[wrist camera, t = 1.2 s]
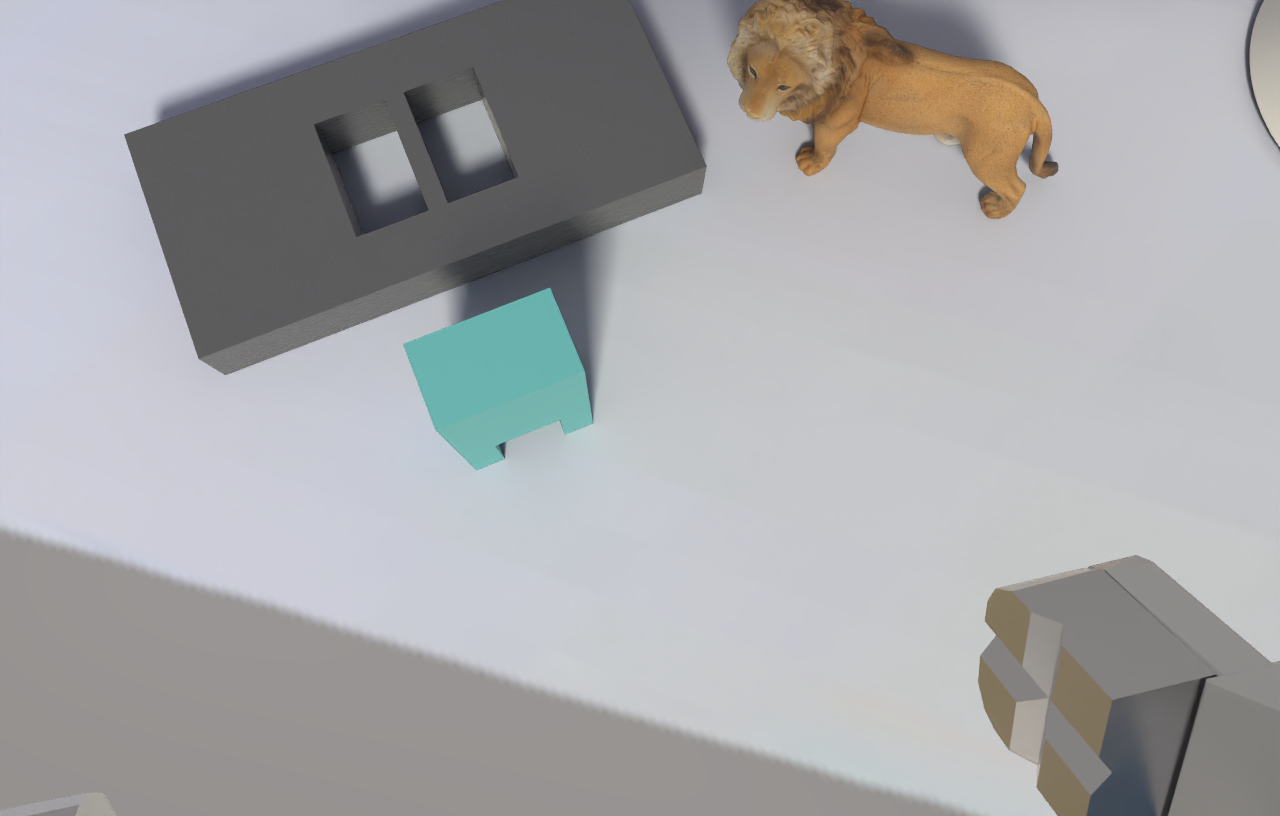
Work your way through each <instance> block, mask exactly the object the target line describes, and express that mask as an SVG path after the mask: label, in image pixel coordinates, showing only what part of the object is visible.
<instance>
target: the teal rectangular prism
mask: <svg viewBox="0 0 1280 816" xmlns="http://www.w3.org/2000/svg"><path fill="white" fill-rule="evenodd" d="M403 345H404V348H405V350H406V353H407V356H408V358H409V361H410V364H411V366H412V369H413V372H414V374H415V377H416V380H417V382H418V385H419V387H420V390H421V393H422V395H423V398H424V401H425V403H426V406H427V409H428V411H429V414H430V417H431V419H432V422H433V425H434V427H435V430H436V431H437V432H438V433H439V434H440V435H441V436H442V437H443V438H444V439H445V440H446V441H447V442H448V443H449V444H450V445H451V446H452V447H453V448H454V449H455V450H456V451H457V452H458V453H459V454H460V455H461V456H462V457H464V458H465V459H466V460H467V461H468V462H469V463H470V464H471V465H472V466H473V467H474V468H475V469H476V470H478V469H481V468H483V467H486V466H488V465H491V464H493V463H496V462H498V461H501V460H503V459H505V458H504V456H503V453H502V451H501V448H500V446H499V444H501V443H503V442H506V441H508V440H511V439H513V438H516V437H518V436H521V435H523V434H526V433H528V432H531V431H533V430H536V429H538V428H541V427H543V426H546V425H548V424H551V423H553V422H556V421H558V420H560V423H561V425H562V427H563V430H564V432H565V434H568V433H570V432H573V431H575V430H578V429H580V428H583V427H585V426H588V425H590V424H593V420H592V414H591V407H590V401H589V395H588V389H587V382H586V376H585V371H584V368H583V366H582V363H581V361H580V359H579V356H578V354H577V351H576V349H575V346H574V344H573V342H572V339H571V337H570V334H569V332H568V330H567V327H566V325H565V322H564V320H563V318H562V315H561V313H560V310H559V308H558V306H557V303H556V301H555V298H554V296H553V294H552V291H551V289H550V288H547V289H545V290H542V291H540V292H537V293H534V294H532V295H529V296H527V297H524V298H521V299H519V300H516V301H514V302H511V303H508V304H506V305H503V306H501V307H498V308H496V309H493V310H490V311H488V312H485V313H483V314H480V315H477V316H475V317H472V318H470V319H467V320H464V321H462V322H459V323H457V324H454V325H451V326H449V327H446V328H444V329H441V330H439V331H436V332H433V333H431V334H428V335H426V336H423V337H420V338H418V339H415V340H413V341H410V342H407V343H405V344H403Z"/></svg>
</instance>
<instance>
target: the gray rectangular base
mask: <svg viewBox="0 0 1280 816" xmlns="http://www.w3.org/2000/svg"><path fill="white" fill-rule="evenodd" d="M481 99H482V101H483V103H484V106H485V108H486V110H487V113H488V115H489V118H490V120H491V122H492V125H493V127H494V130H495V132H496V134H497V137H498V139H499V141H500V144H501V146H502V149H503V151H504V153H505V156H506V158H507V161H508V163H509V165H510V168H511V170H512V173H513V175H514V177H515V178H514V179H511V180H509V181H506V182H503V183H501V184H498V185H495V186H493V187H490V188H487V189H485V190H482V191H479V192H477V193H474V194H471V195H468V196H466V197H463V198H460V199H458V200H455V201H452V202H450V203H448V201H447V198H446V196H445V193H444V191H443V188H442V186H441V183H440V181H439V178H438V176H437V173H436V171H435V168H434V166H433V163H432V161H431V158H430V156H429V153H428V151H427V148H426V146H425V143H424V141H423V138H422V136H421V133H420V131H419V128H418V126H417V123H418V122H421V121H424V120H426V119H429V118H432V117H435V116H437V115H440V114H443V113H446V112H448V111H451V110H454V109H457V108H459V107H462V106H465V105H468V104H470V103H473V102H476V101H479V100H481ZM396 130H397V132H398V134H399V137H400V139H401V142H402V144H403V147H404V149H405V152H406V154H407V157H408V159H409V162H410V164H411V167H412V169H413V172H414V175H415V177H416V180H417V182H418V185H419V187H420V190H421V192H422V195H423V197H424V200H425V202H426V205H427V207H428V211H426V212H423V213H420V214H418V215H415V216H412V217H409V218H407V219H404V220H401V221H399V222H396V223H393V224H391V225H388V226H385V227H383V228H380V229H377V230H375V231H372V232H369V233H367V234H364V235H363V234H362V231H361V229H360V226H359V223H358V221H357V218H356V215H355V213H354V210H353V208H352V205H351V202H350V200H349V197H348V194H347V192H346V189H345V186H344V184H343V181H342V178H341V176H340V173H339V170H338V168H337V165H336V163H335V160H334V157H333V155H332V154H333V153H336V152H338V151H341V150H344V149H347V148H349V147H352V146H355V145H358V144H360V143H363V142H366V141H369V140H371V139H374V138H377V137H380V136H382V135H385V134H388V133H391V132H393V131H396ZM124 135H125V138H126V141H127V144H128V147H129V150H130V153H131V156H132V159H133V162H134V166H135V169H136V172H137V175H138V178H139V181H140V184H141V187H142V190H143V193H144V196H145V199H146V202H147V205H148V208H149V211H150V214H151V217H152V220H153V223H154V226H155V229H156V232H157V235H158V238H159V241H160V244H161V247H162V250H163V253H164V256H165V259H166V262H167V265H168V268H169V271H170V274H171V277H172V280H173V283H174V286H175V289H176V292H177V295H178V298H179V301H180V304H181V307H182V310H183V313H184V316H185V319H186V322H187V325H188V328H189V331H190V334H191V337H192V340H193V343H194V346H195V349H196V352H197V355H198V358H199V359H200V360H201V361H203V362H205V363H206V364H208V365H210V366H211V367H213V368H215V369H216V370H218V371H220V372H221V373H223V374H225V375H227V374H229V373H232V372H235V371H237V370H240V369H243V368H245V367H248V366H250V365H253V364H256V363H258V362H261V361H263V360H266V359H269V358H271V357H274V356H277V355H279V354H282V353H284V352H287V351H290V350H292V349H295V348H297V347H300V346H303V345H305V344H308V343H311V342H313V341H316V340H318V339H321V338H324V337H326V336H329V335H332V334H334V333H337V332H339V331H342V330H345V329H347V328H350V327H352V326H355V325H358V324H360V323H363V322H366V321H368V320H371V319H373V318H376V317H379V316H381V315H384V314H387V313H389V312H392V311H394V310H397V309H400V308H402V307H405V306H407V305H410V304H413V303H415V302H418V301H421V300H423V299H426V298H428V297H431V296H434V295H436V294H439V293H441V292H444V291H447V290H449V289H452V288H455V287H457V286H460V285H462V284H465V283H468V282H470V281H473V280H476V279H478V278H481V277H483V276H486V275H489V274H491V273H494V272H496V271H499V270H502V269H504V268H507V267H510V266H512V265H515V264H517V263H520V262H523V261H525V260H528V259H531V258H533V257H536V256H538V255H541V254H544V253H546V252H549V251H551V250H554V249H557V248H559V247H562V246H565V245H567V244H570V243H572V242H575V241H578V240H580V239H583V238H585V237H588V236H591V235H593V234H596V233H599V232H601V231H604V230H606V229H609V228H612V227H614V226H617V225H620V224H622V223H625V222H627V221H630V220H633V219H635V218H638V217H640V216H643V215H646V214H648V213H651V212H654V211H656V210H659V209H661V208H664V207H667V206H669V205H672V204H675V203H677V202H680V201H682V200H685V199H688V198H690V197H693V196H695V195H698V194H701V193H702V188H703V183H704V177H705V172H706V167H707V166H706V164H705V162H704V160H703V158H702V155H701V153H700V151H699V149H698V147H697V145H696V142H695V140H694V138H693V136H692V134H691V132H690V129H689V127H688V125H687V123H686V121H685V119H684V117H683V114H682V112H681V110H680V108H679V106H678V104H677V101H676V99H675V97H674V95H673V93H672V91H671V88H670V86H669V84H668V82H667V80H666V78H665V75H664V73H663V71H662V69H661V67H660V65H659V63H658V60H657V58H656V56H655V54H654V52H653V50H652V47H651V45H650V43H649V41H648V39H647V37H646V34H645V32H644V30H643V28H642V26H641V24H640V21H639V19H638V17H637V15H636V13H635V11H634V8H633V6H632V4H631V2H630V0H504V1H501V2H498V3H495V4H492V5H489V6H487V7H484V8H481V9H478V10H475V11H472V12H470V13H467V14H464V15H461V16H458V17H455V18H453V19H450V20H447V21H444V22H441V23H438V24H436V25H433V26H430V27H427V28H424V29H421V30H419V31H416V32H413V33H410V34H407V35H405V36H402V37H399V38H396V39H393V40H390V41H388V42H385V43H382V44H379V45H376V46H373V47H371V48H368V49H365V50H362V51H359V52H356V53H354V54H351V55H348V56H345V57H342V58H339V59H337V60H334V61H331V62H328V63H325V64H322V65H320V66H317V67H314V68H311V69H308V70H306V71H303V72H300V73H297V74H294V75H291V76H289V77H286V78H283V79H280V80H277V81H274V82H272V83H269V84H266V85H263V86H260V87H257V88H255V89H252V90H249V91H246V92H243V93H240V94H238V95H235V96H232V97H229V98H226V99H223V100H221V101H218V102H215V103H212V104H209V105H206V106H204V107H201V108H198V109H195V110H192V111H190V112H187V113H184V114H181V115H178V116H175V117H173V118H170V119H167V120H164V121H161V122H158V123H156V124H153V125H150V126H147V127H144V128H141V129H139V130H136V131H133V132H130V133H127V134H124Z"/></svg>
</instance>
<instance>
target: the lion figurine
mask: <svg viewBox="0 0 1280 816" xmlns="http://www.w3.org/2000/svg"><path fill="white" fill-rule="evenodd" d="M738 25H739V28H738V35H737V37H736V39H735V40H734V41H733V42H732V44H731V49H730V53H729V55H728V59H727V64H728V65H729V68H730V70H731V72H732V75H733V77H734V78H735V79H736V80H738V83H739V86H740V87H741V88H742V89H743V91H742V93H741V95H740V98H739V105H740V108H741V109H742V110H743V111H744V112H746V114H747V116H748V117H749V118H750V119H752V120H754V121H762V122H766V121H769V120H770V119H772V118H773V116H774V115H775V113H776V112H777V111H778V112H779V113H780V114H781V115H784V116H787V117H789V118H790V119H791V120H792V121H796V120H800V121H802V122H804V123H807V124H813V126H814V145H813V146H807V147H804V148H802V149H801V151H800V153H799V155H798V156H797V157H796V162H797V163H798V167H799V169H800V170H802V171H803V172H804V173H805V174H806V175H807V176H810V175H813V174H816V173H818V172H820V171H821V170H822V169H824V168H825V167H827V166H828V164H829V163H830V161H831V159H832V158H833V157H834V155H835V153H836V148H837V146H838V144H839V143H840V142H841V141H842V140H843V139H844V138H845V137H846V136H847V135H849V134H850V133H852V132H853V131H854V130H855V129H856V128H857V127H858V124H859V122H863V123H866V124H869V125H872V126H875V127H878V128H881V129H884V130H888V131H894V132H899V133H906V134H913V135H934V137H935V138H936V139H937V140H938V141H939V142H941V143H944V144H947V145H956V144H960V145H961V148H962V151H963V154H964V157H965V159H966V161H967V163H968V165H969V167H970V169H971V171H972V172H973V174H974V175H975V176H976V177H977V178H978V179H979V180H980V181H981V182H982V183H983V184H985V185H986V186H988V187H989V188H990V189H992V190H993V191H990V192H988V193H987V194H986V195H985V196H984V197H983V198H981V200H980V204H981V206H982V211H983V212H984V214H985V215H986V216H987V217H989V218H993V219H999V218H1003V217H1005V216H1007V215H1008V214H1009V213H1011V212H1012V211H1013V210H1014V209H1015V207H1016V206H1017V204H1018V202H1019V200H1020V199H1021V197H1022V196H1023V194H1024V192H1025V189H1026V184H1025V183H1024V182H1023V181H1022V180H1021V179H1020V178H1019V177H1018V175H1017V171H1016V163H1017V160H1018V158H1019V156H1020V154H1021V152H1022V150H1023V149H1024V147H1025V145H1026V143H1027V141H1028V139H1029V136H1030V135H1031V134H1034V135H1033V144H1032V152H1031V156H1030V161H1029V169H1030V171H1031V172H1032V173H1033V174H1034V175H1037V176H1039V177H1041V178H1044V179H1045V178H1047V177H1048V176H1053V175H1055V174H1056V173H1057V172H1058V163H1057V162H1046V161H1045V159H1046V156H1047V154H1048V152H1049V148H1050V145H1051V141H1052V125H1051V120H1050V117H1049V114H1048V112H1047V110H1046V108H1045V107H1044V105H1043V104H1042V103H1041V102H1040V100H1039V99H1038V93H1037V90H1036V88H1035V87H1034V85H1033V84H1032V83H1031V82H1030V81H1029V80H1028V79H1027V78H1026V77H1025V76H1024V75H1022V74H1021V73H1019V72H1018V71H1016V70H1015V69H1013V68H1012V67H1010V66H1008V65H1006V64H1004V63H1001V62H998V61H990V60H978V59H968V58H961V57H957V56H952V55H948V54H944V53H940V52H937V51H934V50H930V49H927V48H924V47H921V46H918V45H914V44H910V43H906V42H902V41H899V40H896V39H893V37H892V36H891V35H890V33H889V32H888V31H887V30H886V29H885V28H883V27H881V26H877V24H876V22H875V20H874V19H873V18H872V17H866V14H865V12H864V10H862V9H859V8H853V7H852V6H851V3H850V2H849V1H843V0H760V1H758V2H756V3H755V4H754V5H753V6H752V7H751V8H750V9H749V10H748V11H747V13H746V15H745V16H744V17H743V18H741V20H740V21H739V22H738Z"/></svg>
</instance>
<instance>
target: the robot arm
mask: <svg viewBox="0 0 1280 816" xmlns="http://www.w3.org/2000/svg"><path fill="white" fill-rule="evenodd" d="M1250 73H1251V80H1252V85H1253V90H1254V94H1255V97H1256V101H1257V104H1258V107H1259V109H1260V112H1261V114H1262V117H1263V119H1264V121H1265V123H1266V125H1267V127H1268V129H1269V131H1270V133H1271V134H1272V136H1273V138H1274V139H1275V141H1276V142H1277V144H1278V146H1279V147H1280V0H1264V1H1263V3H1262V5H1261V7H1260V10H1259V12H1258V15H1257V17H1256V20H1255V24H1254V27H1253V31H1252V36H1251V43H1250ZM985 622H986V623H987V624H988V626H989V627H990V628H991V629H992V630H993V632H994V633H995V634H996V636H995V638H994V639H993V640H992V642H991V643H990V644H989V645H988V647H987V648H986V649H985V650H984V652H983V653H982V654H981V656H980V665H979V678H978V683H979V688H980V692H981V696H982V700H983V705H984V709H985V711H986V713H987V715H988V717H989V719H990V721H991V723H992V725H993V728H994V730H995V731H996V732H997V734H998V735H999V737H1000V738H1001V740H1002V741H1003V742H1004V744H1005V745H1006V747H1007V748H1008V749H1009V751H1011V752H1013V753H1015V754H1017V755H1019V756H1021V757H1023V758H1025V759H1027V760H1029V761H1031V762H1033V763H1035V764H1037V789H1038V790H1039V791H1040V793H1041V794H1042V795H1043V797H1044V798H1045V799H1046V801H1047V802H1048V803H1049V805H1050V806H1051V807H1052V809H1053V810H1054V811H1055V813H1056V814H1057V815H1058V816H1280V661H1278V662H1274V663H1271V662H1270V661H1269V660H1268V659H1266V658H1265V657H1264V656H1263V655H1262V654H1261V653H1259V652H1258V651H1257V650H1256V649H1255V648H1254V647H1252V646H1251V645H1250V644H1249V643H1248V642H1246V641H1245V640H1244V639H1243V638H1242V637H1241V636H1239V635H1238V634H1237V633H1236V632H1235V631H1234V630H1232V629H1231V628H1230V627H1229V626H1228V625H1226V624H1225V623H1224V622H1223V621H1222V620H1221V619H1219V618H1218V617H1217V616H1216V615H1215V614H1214V613H1212V612H1211V611H1210V610H1209V609H1208V608H1206V607H1205V606H1204V605H1203V604H1202V603H1201V602H1199V601H1198V600H1197V599H1196V598H1195V597H1194V596H1192V595H1191V594H1190V593H1189V592H1188V591H1186V590H1185V589H1184V588H1183V587H1182V586H1181V585H1179V584H1178V583H1177V582H1176V581H1175V580H1174V579H1172V578H1171V577H1170V576H1169V575H1168V574H1166V573H1165V572H1164V571H1163V570H1162V569H1161V568H1159V567H1158V566H1157V565H1156V564H1155V563H1154V562H1152V561H1150V560H1148V559H1145V558H1142V557H1140V556H1137V555H1135V556H1131V557H1126V558H1122V559H1118V560H1114V561H1110V562H1105V563H1101V564H1097V565H1093V566H1090V567H1088V568H1081V569H1077V570H1073V571H1068V572H1064V573H1060V574H1056V575H1051V576H1047V577H1043V578H1038V579H1034V580H1030V581H1026V582H1021V583H1017V584H1013V585H1009V586H1004V587H1000V588H996V589H995V590H994V592H993V593H992V595H991V596H990V598H989V599H988V602H987V609H986V616H985ZM0 816H116V814H115V812H114V810H113V809H112V807H111V805H110V803H109V802H108V800H107V798H106V796H105V794H103V793H94V792H89V793H84V794H79V795H74V796H69V797H64V798H59V799H54V800H49V801H44V802H39V803H34V804H29V805H24V806H19V807H14V808H9V809H4V810H0Z"/></svg>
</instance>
